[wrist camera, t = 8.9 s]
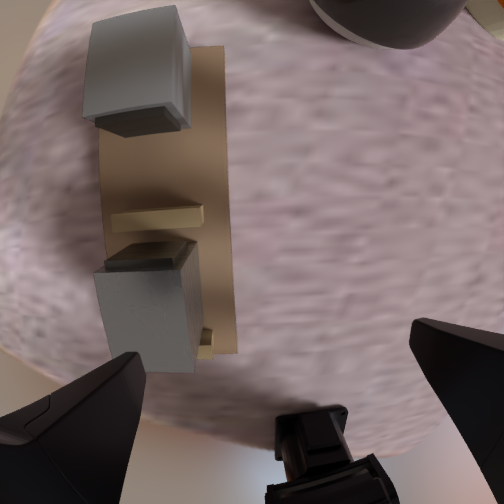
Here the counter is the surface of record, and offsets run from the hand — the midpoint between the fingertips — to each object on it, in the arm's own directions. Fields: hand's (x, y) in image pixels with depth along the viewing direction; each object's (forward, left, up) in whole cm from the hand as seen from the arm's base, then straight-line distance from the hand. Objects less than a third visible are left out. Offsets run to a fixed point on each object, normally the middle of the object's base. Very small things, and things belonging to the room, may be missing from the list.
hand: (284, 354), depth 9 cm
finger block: (-1, +6, -10) cm, 11 cm away
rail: (+4, +6, -11) cm, 13 cm away
